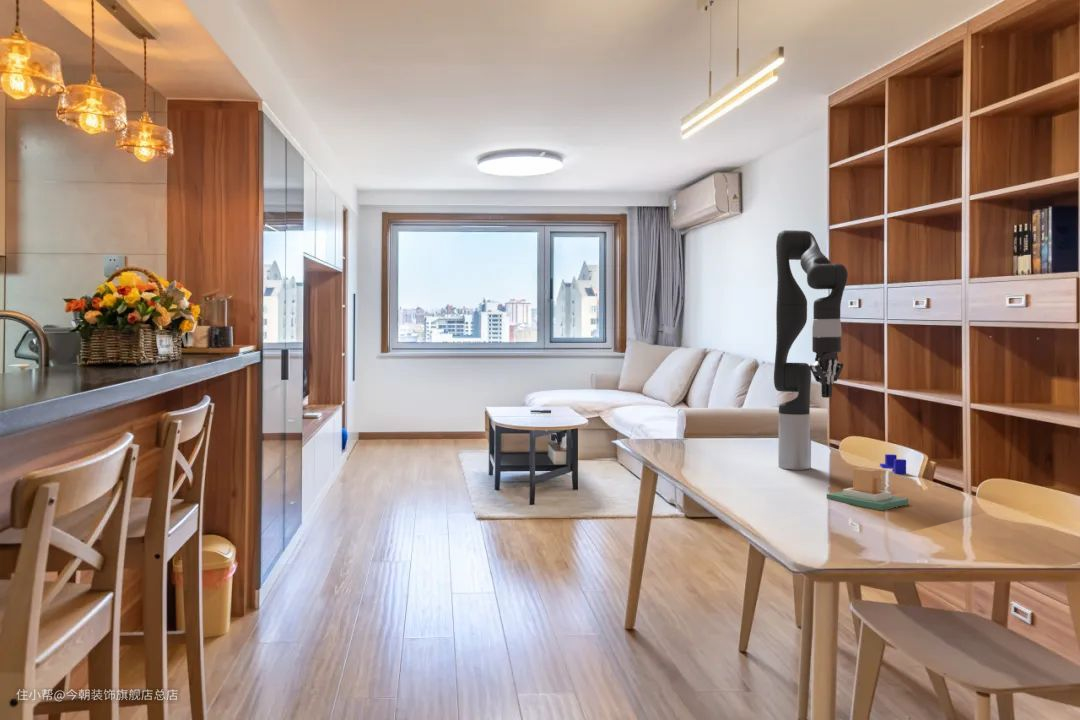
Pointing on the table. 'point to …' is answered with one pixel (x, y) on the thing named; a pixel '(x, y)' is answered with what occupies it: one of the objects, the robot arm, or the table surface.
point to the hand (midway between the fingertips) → (826, 397)
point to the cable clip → (894, 464)
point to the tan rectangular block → (867, 480)
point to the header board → (868, 499)
